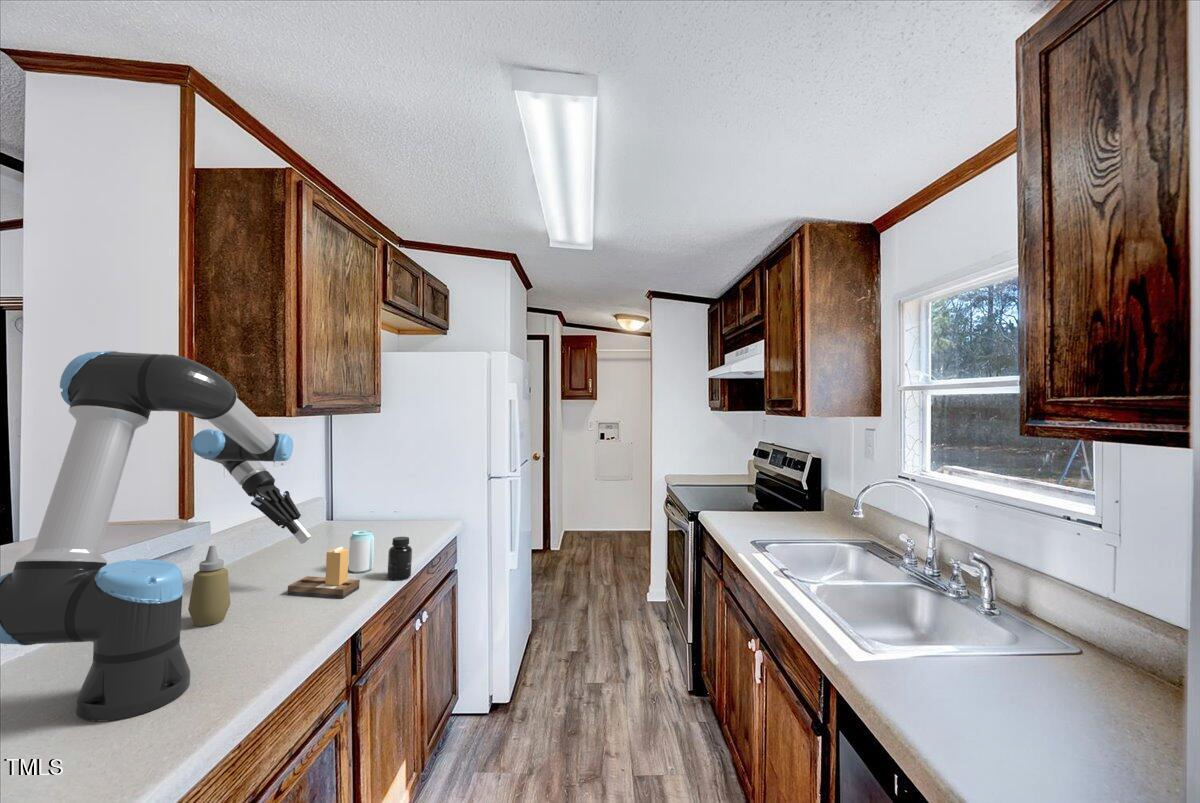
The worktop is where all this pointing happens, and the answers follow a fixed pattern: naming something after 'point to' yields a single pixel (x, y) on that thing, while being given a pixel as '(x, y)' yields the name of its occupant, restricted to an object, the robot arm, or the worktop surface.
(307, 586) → the console
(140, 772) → the worktop surface
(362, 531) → the can
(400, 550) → the supplement bottle
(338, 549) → the fader tab
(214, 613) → the squeeze bottle
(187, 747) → the worktop surface
